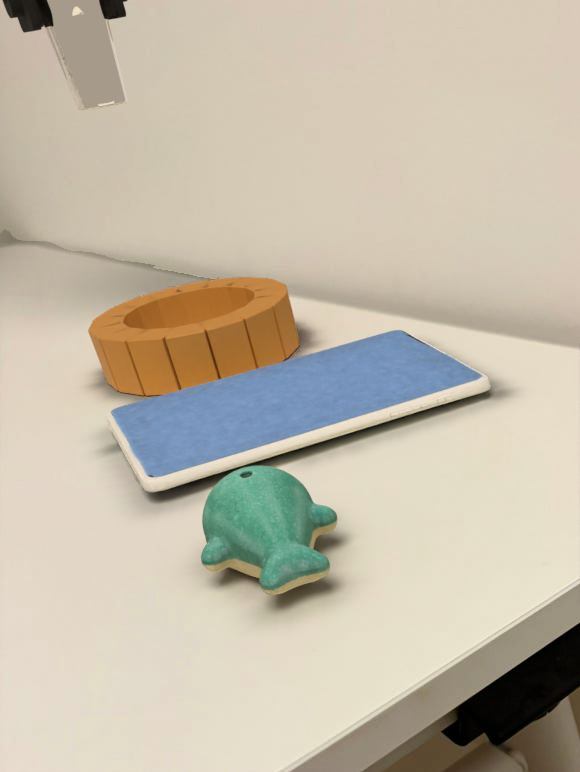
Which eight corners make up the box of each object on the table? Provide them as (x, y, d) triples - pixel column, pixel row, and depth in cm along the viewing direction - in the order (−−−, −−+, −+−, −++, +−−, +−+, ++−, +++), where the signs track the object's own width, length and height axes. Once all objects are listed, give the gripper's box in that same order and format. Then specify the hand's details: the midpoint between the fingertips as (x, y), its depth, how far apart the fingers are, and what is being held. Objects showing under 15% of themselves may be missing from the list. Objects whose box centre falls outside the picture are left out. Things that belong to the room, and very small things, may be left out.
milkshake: (113, 100, 64) (55, -80, 58) (150, 98, 61) (92, -93, 55) (52, 113, 62) (-15, -73, 56) (87, 112, 58) (20, -87, 52)
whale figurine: (319, 511, 42) (299, 434, 40) (373, 582, 36) (354, 496, 34) (194, 551, 40) (166, 473, 38) (230, 632, 35) (200, 546, 32)
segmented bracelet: (86, 365, 65) (67, 316, 62) (254, 315, 70) (242, 267, 68) (142, 412, 55) (122, 355, 53) (331, 350, 61) (319, 296, 59)
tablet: (406, 343, 60) (402, 323, 59) (499, 396, 50) (496, 373, 50) (109, 430, 54) (101, 409, 53) (152, 509, 44) (143, 484, 43)
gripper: (80, -364, 54) (179, 9, 65) (-244, -371, 47) (-74, 48, 58) (118, -413, 49) (219, 2, 59) (-241, -429, 42) (-54, 43, 52)
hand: (73, 20), depth 58 cm, fingers closed on milkshake, 4 cm apart
